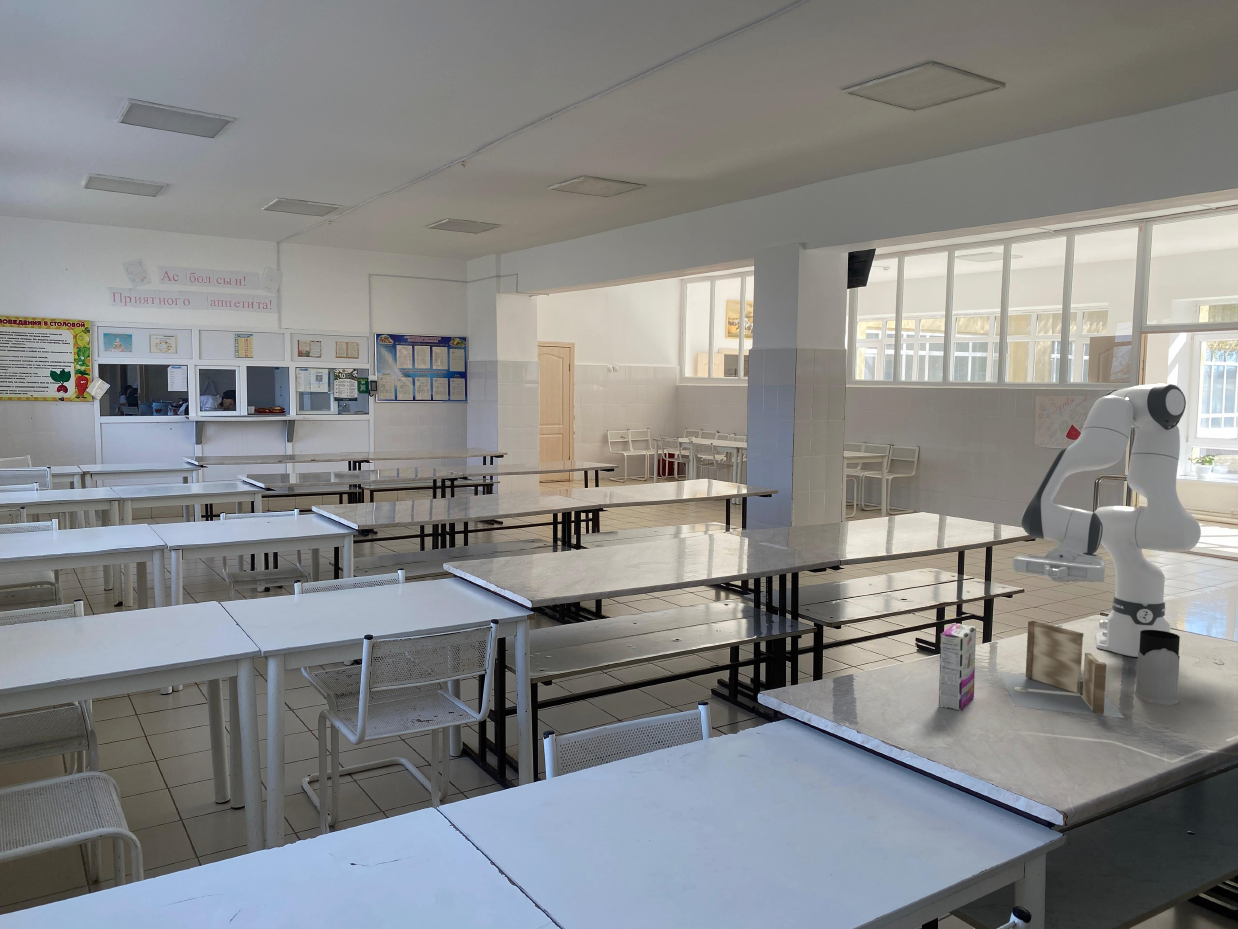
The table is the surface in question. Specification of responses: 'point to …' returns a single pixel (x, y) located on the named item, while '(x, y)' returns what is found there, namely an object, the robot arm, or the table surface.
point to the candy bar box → (957, 666)
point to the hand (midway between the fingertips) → (1052, 572)
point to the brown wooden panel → (1054, 655)
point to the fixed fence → (1094, 683)
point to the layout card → (1050, 697)
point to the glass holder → (1158, 667)
